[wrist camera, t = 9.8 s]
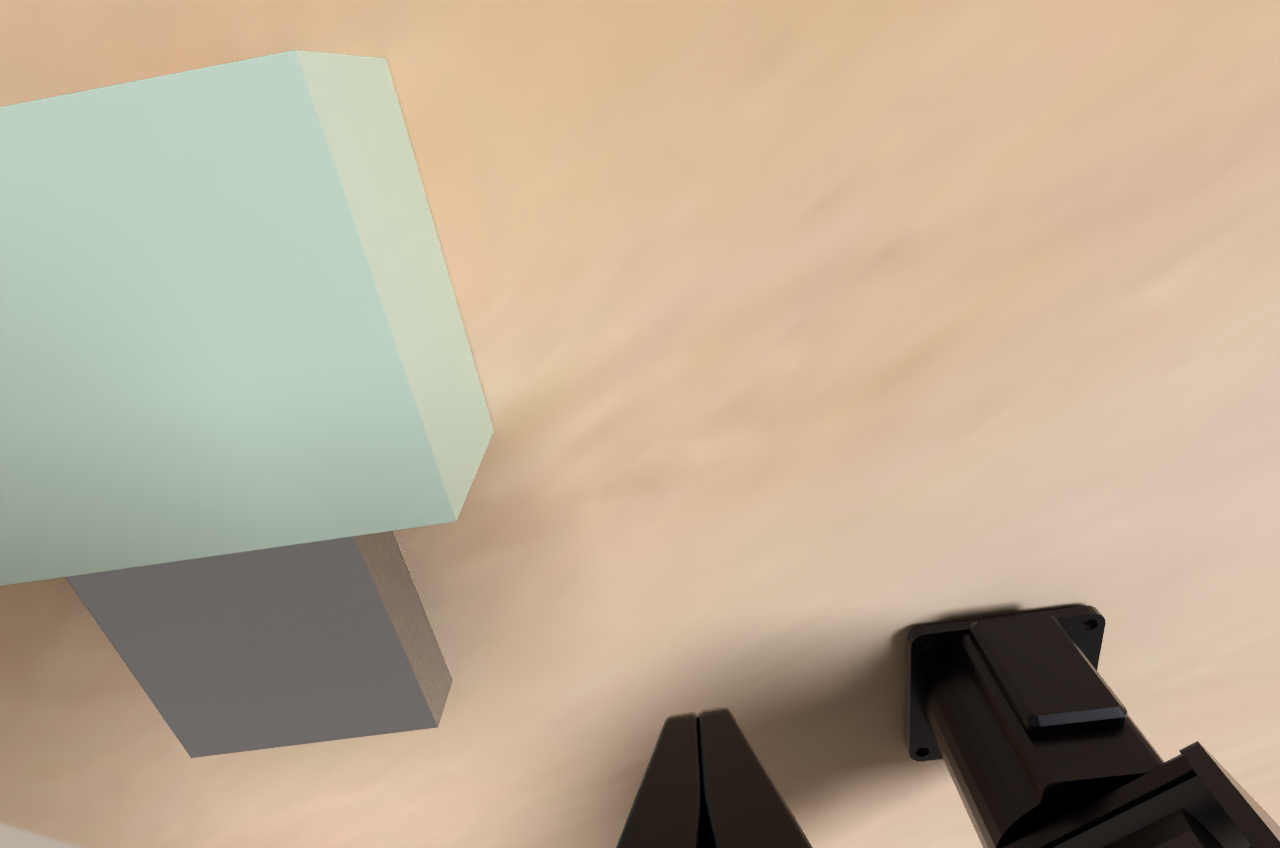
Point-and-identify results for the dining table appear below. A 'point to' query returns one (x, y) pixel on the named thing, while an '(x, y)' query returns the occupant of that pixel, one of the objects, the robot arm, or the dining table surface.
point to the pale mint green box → (223, 321)
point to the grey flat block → (276, 643)
